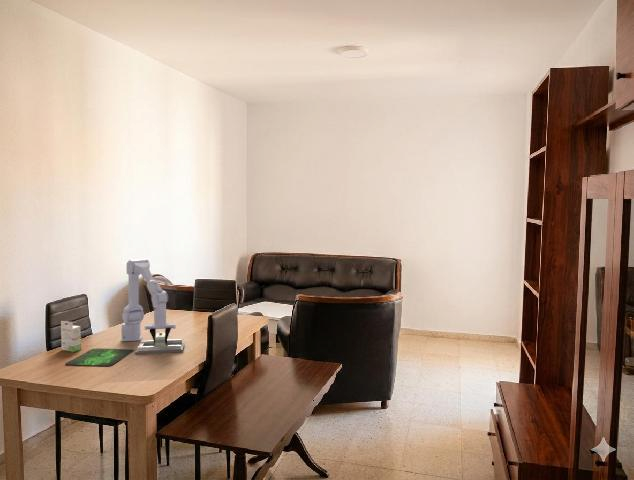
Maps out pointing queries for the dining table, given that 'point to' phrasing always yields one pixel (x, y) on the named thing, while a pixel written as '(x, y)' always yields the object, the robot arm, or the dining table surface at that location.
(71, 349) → the ink box
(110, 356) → the mouse mat
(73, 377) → the dining table surface
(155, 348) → the rail
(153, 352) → the mounting board
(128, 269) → the robot arm
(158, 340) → the module
